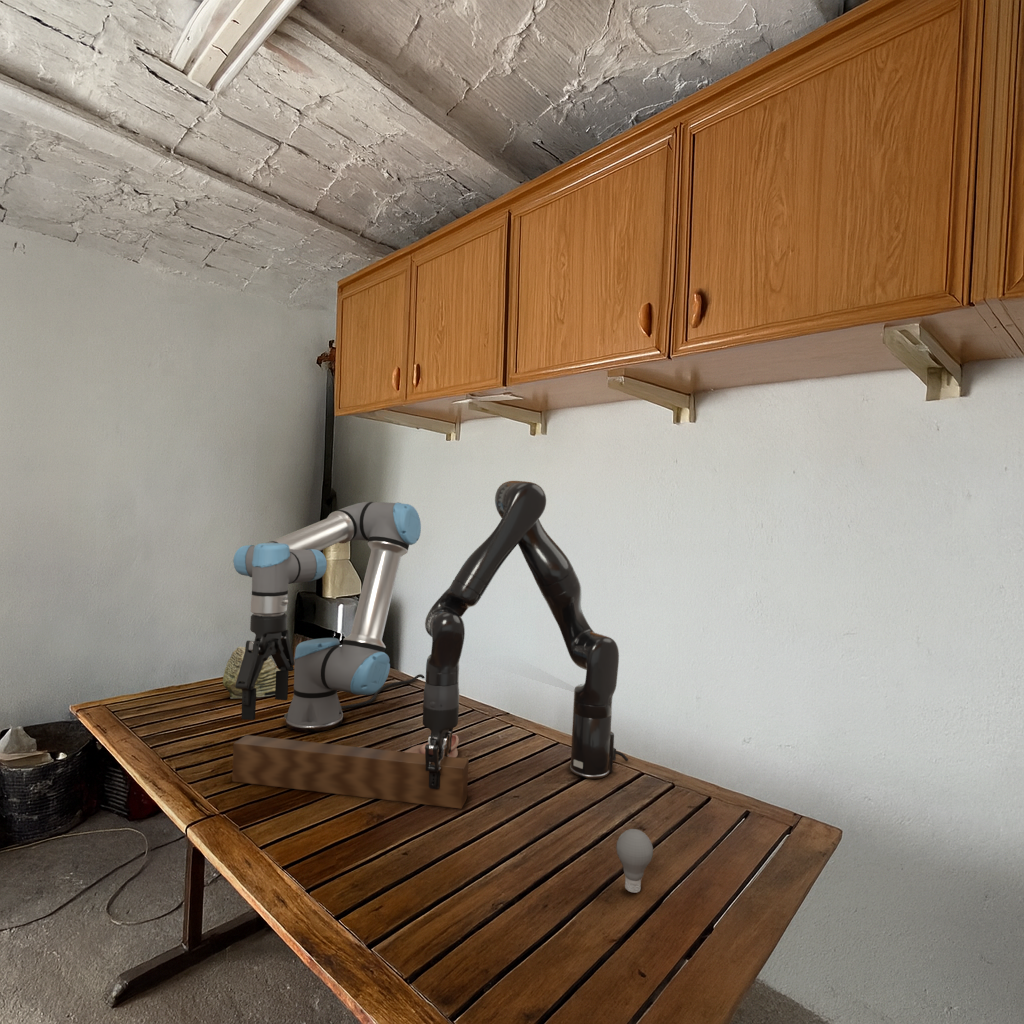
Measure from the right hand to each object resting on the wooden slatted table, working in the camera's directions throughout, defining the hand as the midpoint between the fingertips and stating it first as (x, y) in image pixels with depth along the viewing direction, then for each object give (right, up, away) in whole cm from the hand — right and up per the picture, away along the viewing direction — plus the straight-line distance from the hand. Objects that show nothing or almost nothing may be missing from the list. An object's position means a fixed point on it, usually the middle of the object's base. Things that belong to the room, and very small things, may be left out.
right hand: (437, 781), depth 135 cm
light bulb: (+36, -6, -29) cm, 46 cm away
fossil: (-65, 0, +64) cm, 91 cm away
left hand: (-39, +14, +6) cm, 42 cm away
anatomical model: (-5, -3, +23) cm, 24 cm away
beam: (-20, -3, +3) cm, 20 cm away
